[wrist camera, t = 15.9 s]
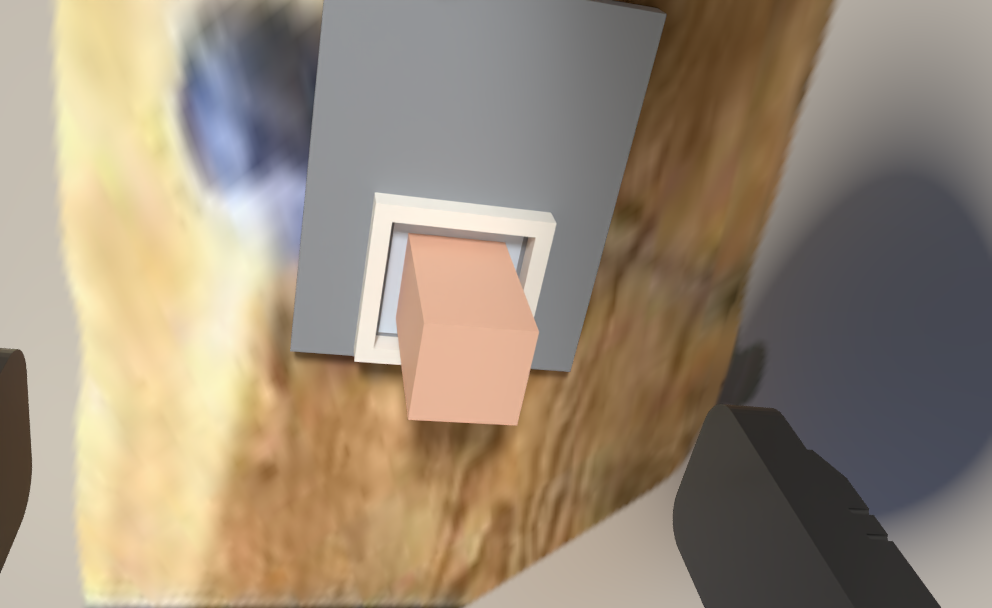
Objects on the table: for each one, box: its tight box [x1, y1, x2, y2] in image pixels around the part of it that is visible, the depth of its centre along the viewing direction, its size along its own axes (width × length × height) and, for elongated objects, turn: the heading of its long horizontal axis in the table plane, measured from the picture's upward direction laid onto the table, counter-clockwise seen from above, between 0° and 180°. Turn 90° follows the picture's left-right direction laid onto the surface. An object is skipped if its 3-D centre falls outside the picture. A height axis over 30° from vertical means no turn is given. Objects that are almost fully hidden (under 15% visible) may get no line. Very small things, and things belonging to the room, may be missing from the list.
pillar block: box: [396, 233, 539, 425], centre depth 39 cm, size 4×4×8 cm
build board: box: [290, 0, 667, 372], centre depth 40 cm, size 18×14×2 cm
